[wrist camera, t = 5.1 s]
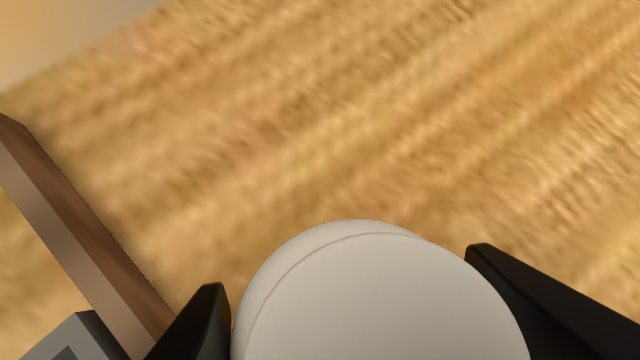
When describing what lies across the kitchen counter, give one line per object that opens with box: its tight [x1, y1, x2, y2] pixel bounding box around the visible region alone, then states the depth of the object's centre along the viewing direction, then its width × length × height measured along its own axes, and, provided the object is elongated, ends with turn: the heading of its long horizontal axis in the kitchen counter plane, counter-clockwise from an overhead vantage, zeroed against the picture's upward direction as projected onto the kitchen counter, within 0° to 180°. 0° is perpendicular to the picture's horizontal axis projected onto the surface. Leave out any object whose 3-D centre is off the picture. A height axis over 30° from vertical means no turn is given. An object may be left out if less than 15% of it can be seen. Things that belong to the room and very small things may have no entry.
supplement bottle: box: [230, 219, 530, 360], centre depth 9 cm, size 5×5×10 cm
